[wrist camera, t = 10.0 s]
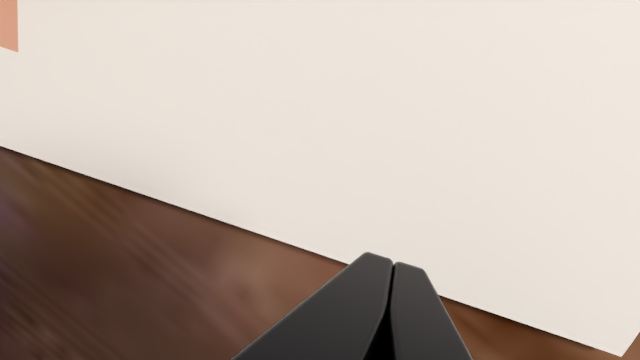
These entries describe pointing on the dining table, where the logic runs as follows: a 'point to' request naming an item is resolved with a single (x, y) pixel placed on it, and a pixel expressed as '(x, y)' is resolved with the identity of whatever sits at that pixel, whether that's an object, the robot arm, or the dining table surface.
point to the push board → (364, 133)
